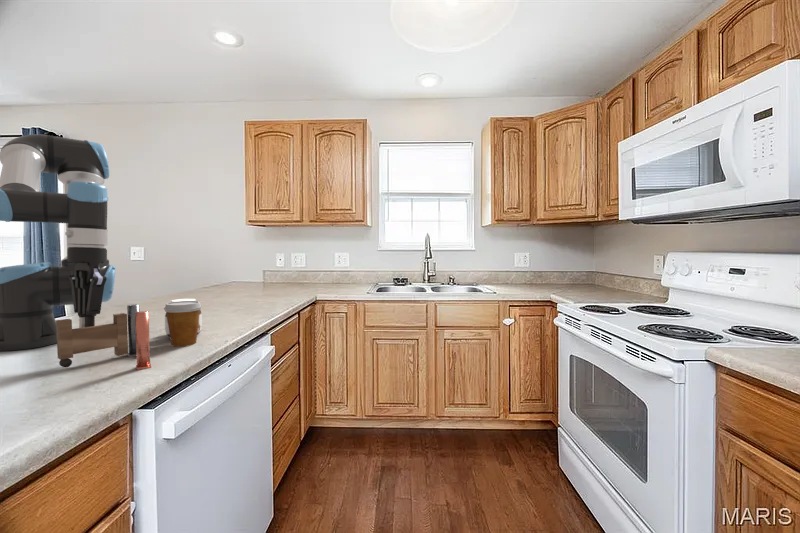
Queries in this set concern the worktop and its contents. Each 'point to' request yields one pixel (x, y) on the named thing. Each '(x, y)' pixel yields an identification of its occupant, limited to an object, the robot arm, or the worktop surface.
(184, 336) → the disposable coffee cup
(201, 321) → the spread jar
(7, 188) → the robot arm
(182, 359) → the worktop surface
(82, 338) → the gate
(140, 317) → the gate posts
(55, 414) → the worktop surface
